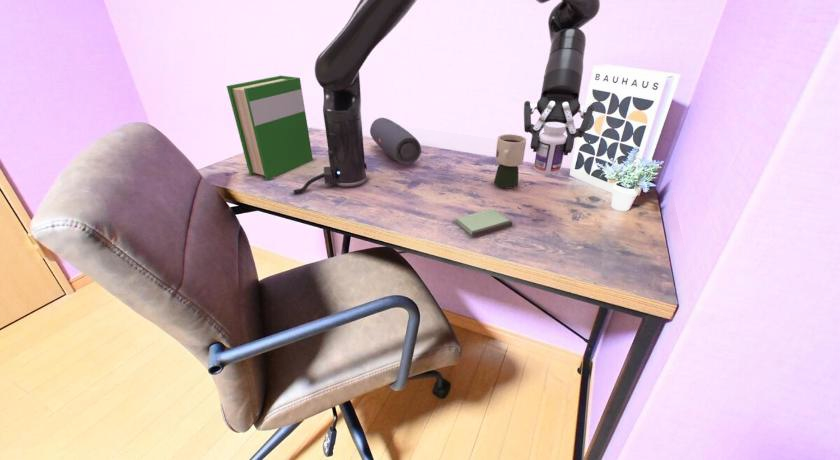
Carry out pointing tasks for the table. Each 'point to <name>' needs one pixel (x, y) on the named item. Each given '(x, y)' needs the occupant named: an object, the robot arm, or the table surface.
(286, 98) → the hardback book
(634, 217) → the table surface
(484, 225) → the notebook
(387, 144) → the bluetooth speaker
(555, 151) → the pill bottle
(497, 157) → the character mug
